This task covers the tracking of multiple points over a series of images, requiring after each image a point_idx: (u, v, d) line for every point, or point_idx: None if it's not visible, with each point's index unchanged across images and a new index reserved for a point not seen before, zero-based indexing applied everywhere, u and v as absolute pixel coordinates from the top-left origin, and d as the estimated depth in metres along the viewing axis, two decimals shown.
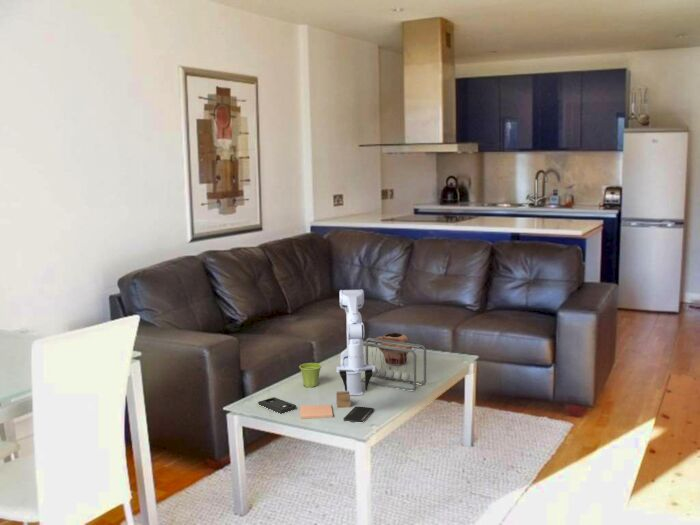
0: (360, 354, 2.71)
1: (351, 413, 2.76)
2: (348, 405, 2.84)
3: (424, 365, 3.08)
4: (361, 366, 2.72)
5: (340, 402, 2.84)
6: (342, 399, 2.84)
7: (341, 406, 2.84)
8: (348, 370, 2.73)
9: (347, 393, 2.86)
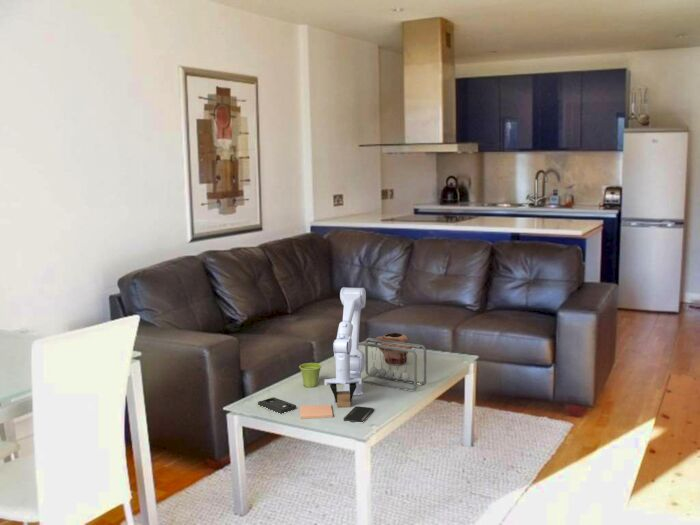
0: (345, 368, 2.82)
1: (351, 413, 2.76)
2: (348, 405, 2.84)
3: (424, 365, 3.09)
4: (348, 379, 2.83)
5: (340, 402, 2.84)
6: (342, 399, 2.84)
7: (341, 406, 2.84)
8: (335, 383, 2.84)
9: (347, 393, 2.86)
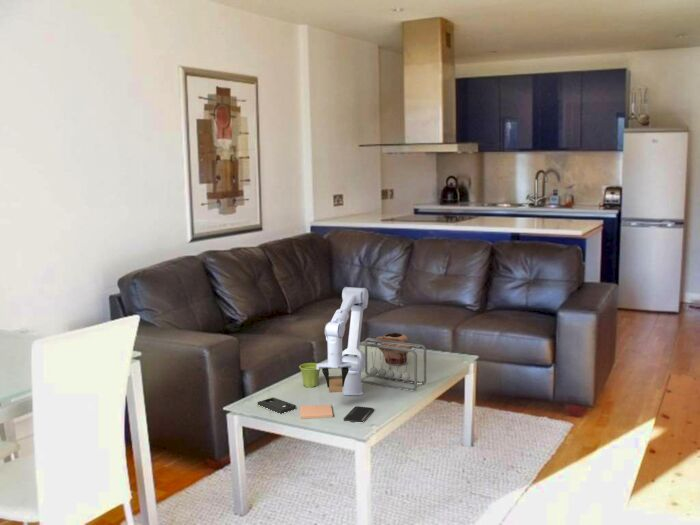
0: (336, 352, 2.78)
1: (351, 413, 2.76)
2: (340, 390, 2.81)
3: (424, 365, 3.09)
4: (340, 363, 2.80)
5: (332, 387, 2.80)
6: (334, 383, 2.80)
7: (333, 391, 2.81)
8: (327, 367, 2.81)
9: (339, 378, 2.82)
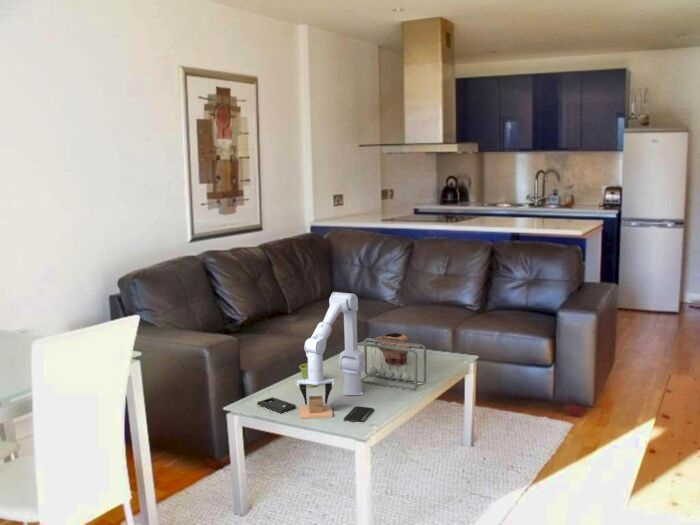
0: (315, 368, 2.73)
1: (351, 413, 2.76)
2: (321, 410, 2.76)
3: (424, 364, 3.09)
4: (320, 380, 2.75)
5: (312, 407, 2.76)
6: (314, 404, 2.76)
7: (313, 411, 2.76)
8: (308, 384, 2.76)
9: (320, 398, 2.78)
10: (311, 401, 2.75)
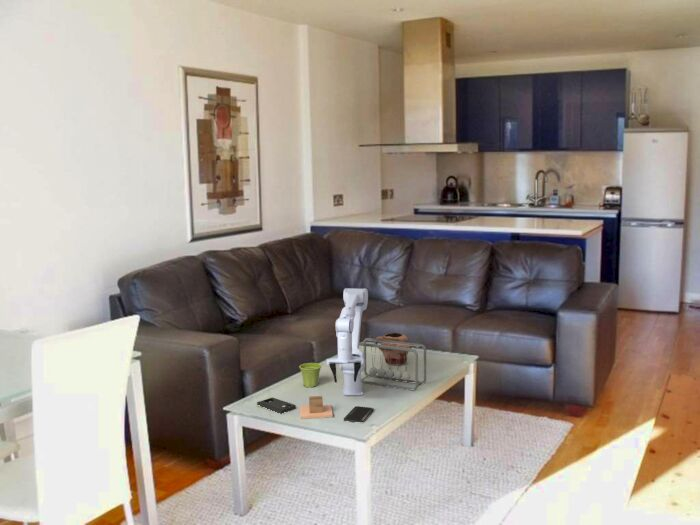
0: (347, 347, 2.82)
1: (351, 413, 2.76)
2: (321, 410, 2.76)
3: (424, 364, 3.10)
4: (350, 358, 2.83)
5: (312, 407, 2.76)
6: (314, 404, 2.76)
7: (313, 411, 2.76)
8: (337, 362, 2.84)
9: (320, 398, 2.78)
10: (311, 401, 2.75)
